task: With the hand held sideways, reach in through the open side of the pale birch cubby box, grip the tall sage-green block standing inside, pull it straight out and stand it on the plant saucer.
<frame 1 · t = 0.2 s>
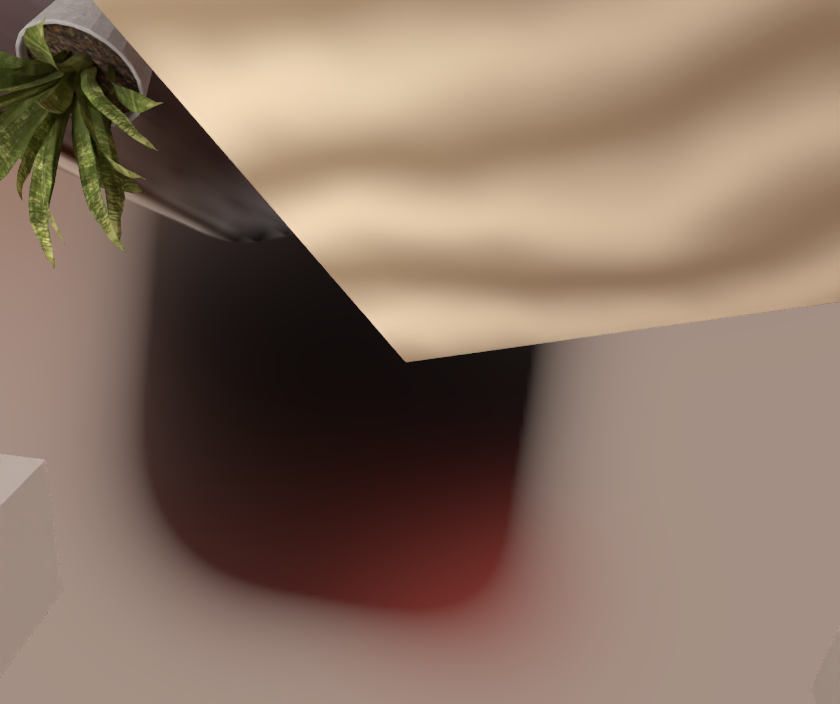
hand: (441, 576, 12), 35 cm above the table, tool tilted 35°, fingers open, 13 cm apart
house plant: (98, 6, 45), on the table
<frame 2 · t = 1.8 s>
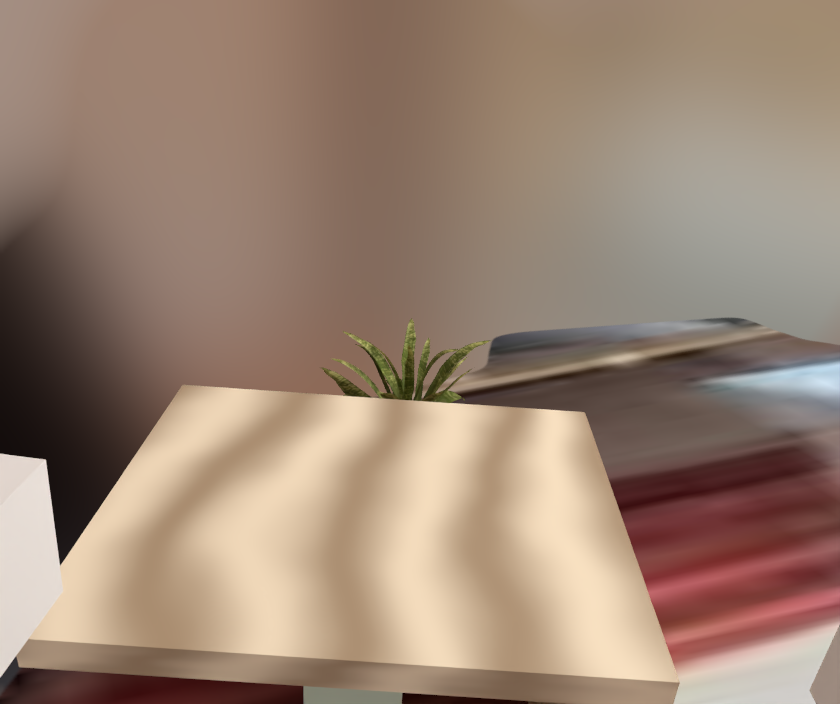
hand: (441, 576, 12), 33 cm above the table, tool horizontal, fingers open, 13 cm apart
house plant: (406, 490, 68), on the table
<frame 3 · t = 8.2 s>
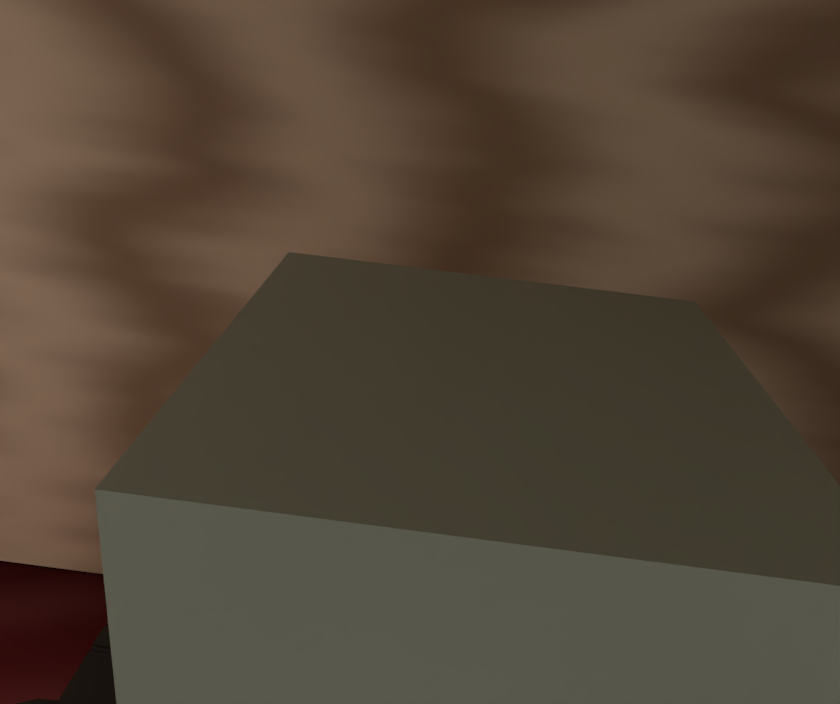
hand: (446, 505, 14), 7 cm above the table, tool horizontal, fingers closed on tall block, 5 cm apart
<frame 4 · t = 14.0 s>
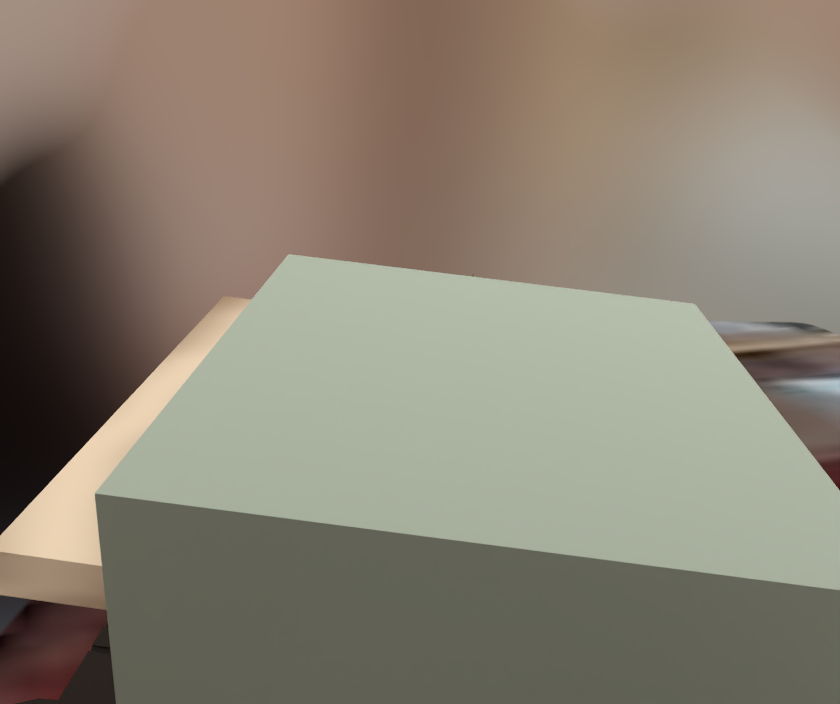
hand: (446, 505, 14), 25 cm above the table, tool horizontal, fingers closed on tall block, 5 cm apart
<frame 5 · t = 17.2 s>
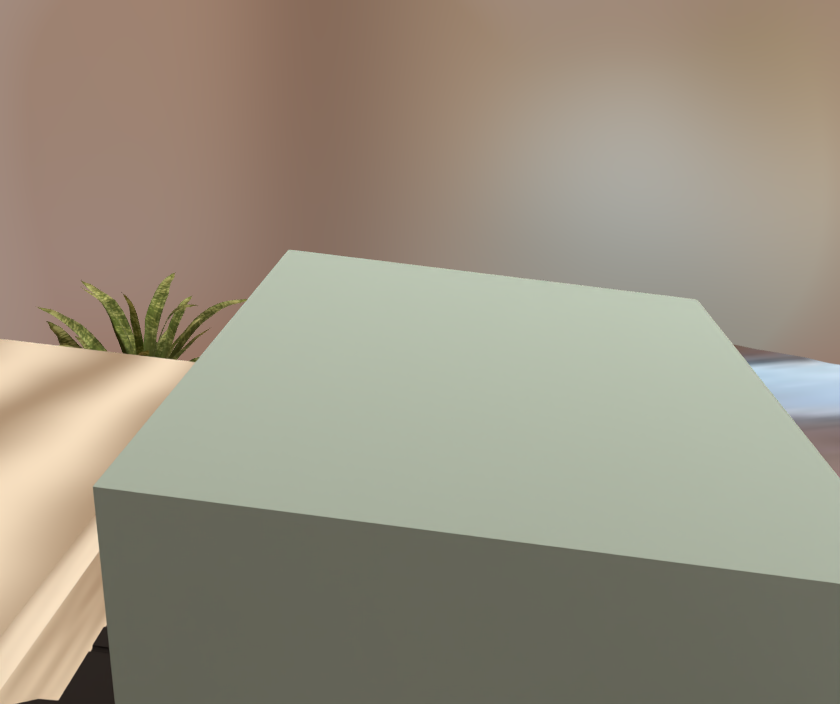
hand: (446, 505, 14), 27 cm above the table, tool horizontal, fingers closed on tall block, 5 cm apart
house plant: (160, 474, 58), on the table
when the fingers open (11 cm above the table, at t = 20.2 s): tall block drops 2 cm, point 3 cm above the table.
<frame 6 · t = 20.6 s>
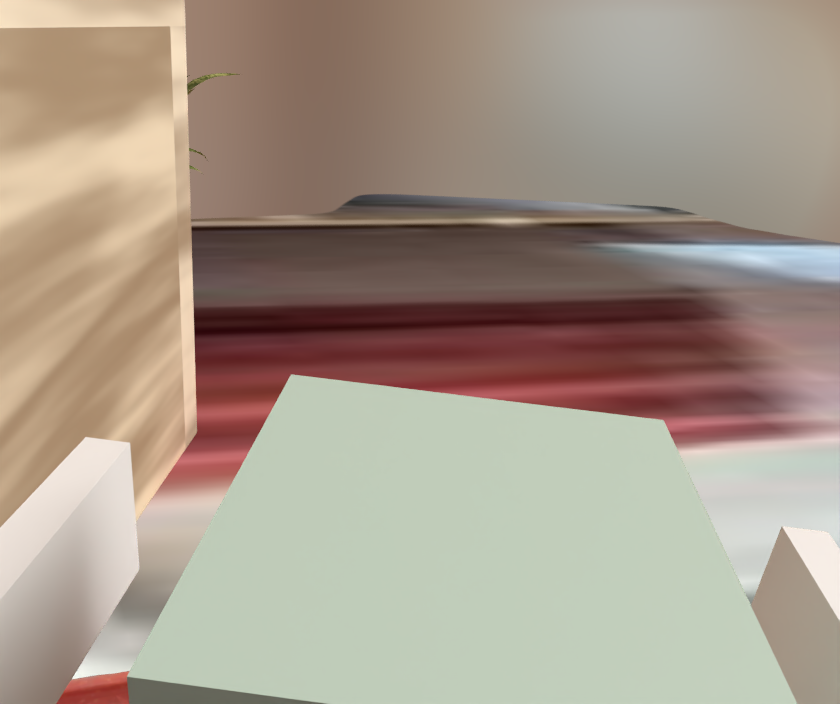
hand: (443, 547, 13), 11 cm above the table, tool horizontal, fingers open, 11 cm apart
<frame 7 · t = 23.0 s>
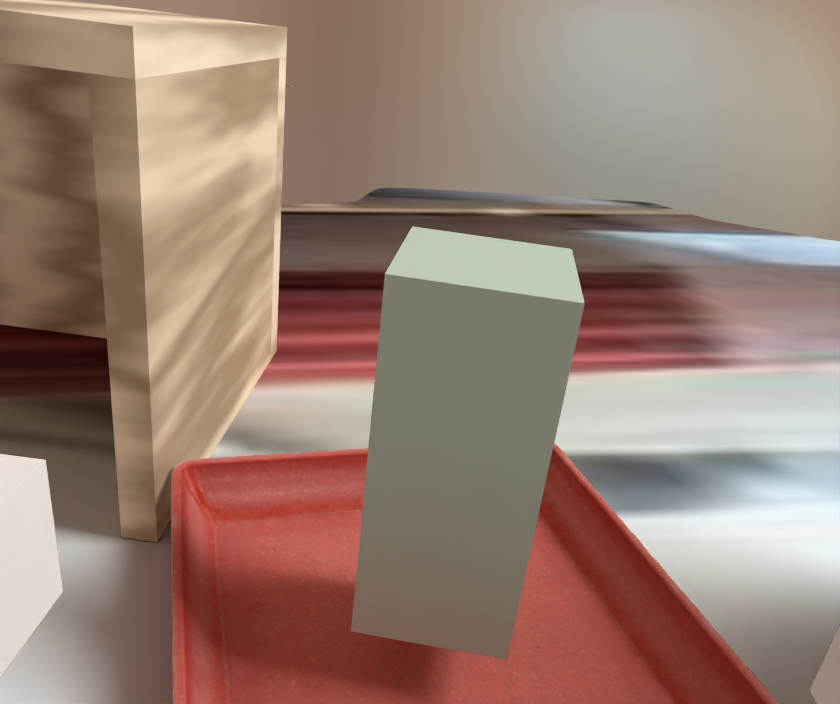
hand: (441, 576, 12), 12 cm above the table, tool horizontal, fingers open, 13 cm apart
plant saucer: (428, 652, 27), on the table
tall block: (436, 590, 25), point 3 cm above the table
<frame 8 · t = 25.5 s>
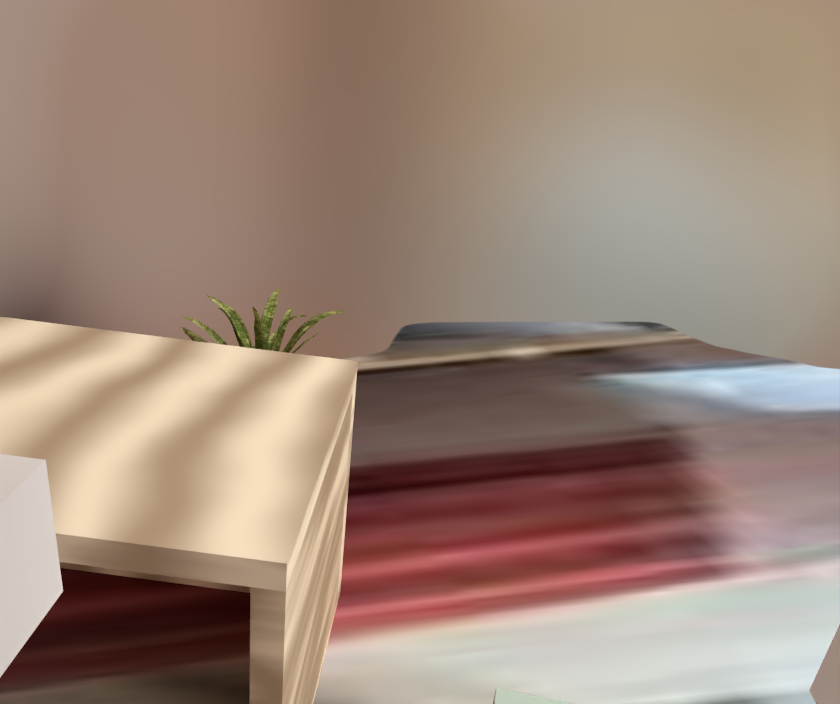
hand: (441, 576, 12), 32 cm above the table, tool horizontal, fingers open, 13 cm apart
house plant: (265, 452, 72), on the table
cubby box: (118, 681, 46), on the table
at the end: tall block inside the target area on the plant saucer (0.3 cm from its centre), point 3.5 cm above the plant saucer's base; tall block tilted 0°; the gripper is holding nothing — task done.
